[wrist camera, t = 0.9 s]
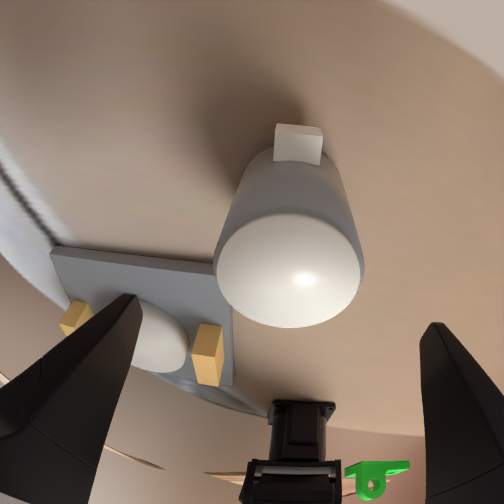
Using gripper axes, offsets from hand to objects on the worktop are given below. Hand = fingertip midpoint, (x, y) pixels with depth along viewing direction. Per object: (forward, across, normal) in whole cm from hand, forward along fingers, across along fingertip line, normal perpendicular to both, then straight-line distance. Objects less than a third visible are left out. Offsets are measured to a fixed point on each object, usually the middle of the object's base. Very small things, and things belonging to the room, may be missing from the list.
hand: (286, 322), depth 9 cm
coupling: (+8, 0, 0) cm, 8 cm away
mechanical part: (+9, -24, +53) cm, 59 cm away
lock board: (+8, +10, +11) cm, 17 cm away
